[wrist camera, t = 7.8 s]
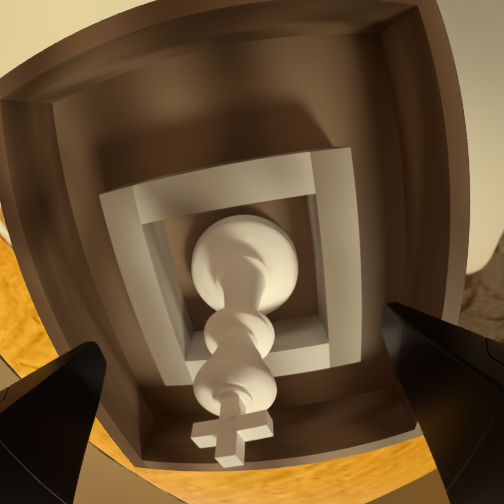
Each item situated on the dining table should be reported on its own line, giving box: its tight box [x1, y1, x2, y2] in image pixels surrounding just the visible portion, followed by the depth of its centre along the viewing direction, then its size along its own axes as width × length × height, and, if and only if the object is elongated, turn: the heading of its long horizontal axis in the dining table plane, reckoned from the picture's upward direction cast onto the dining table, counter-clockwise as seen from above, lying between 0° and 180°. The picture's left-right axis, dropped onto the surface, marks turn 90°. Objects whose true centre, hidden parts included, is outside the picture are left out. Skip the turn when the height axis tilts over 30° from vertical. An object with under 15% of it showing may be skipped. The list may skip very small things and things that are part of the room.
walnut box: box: [0, 0, 470, 471], centre depth 13 cm, size 18×22×5 cm
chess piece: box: [191, 215, 298, 468], centre depth 10 cm, size 5×5×10 cm
